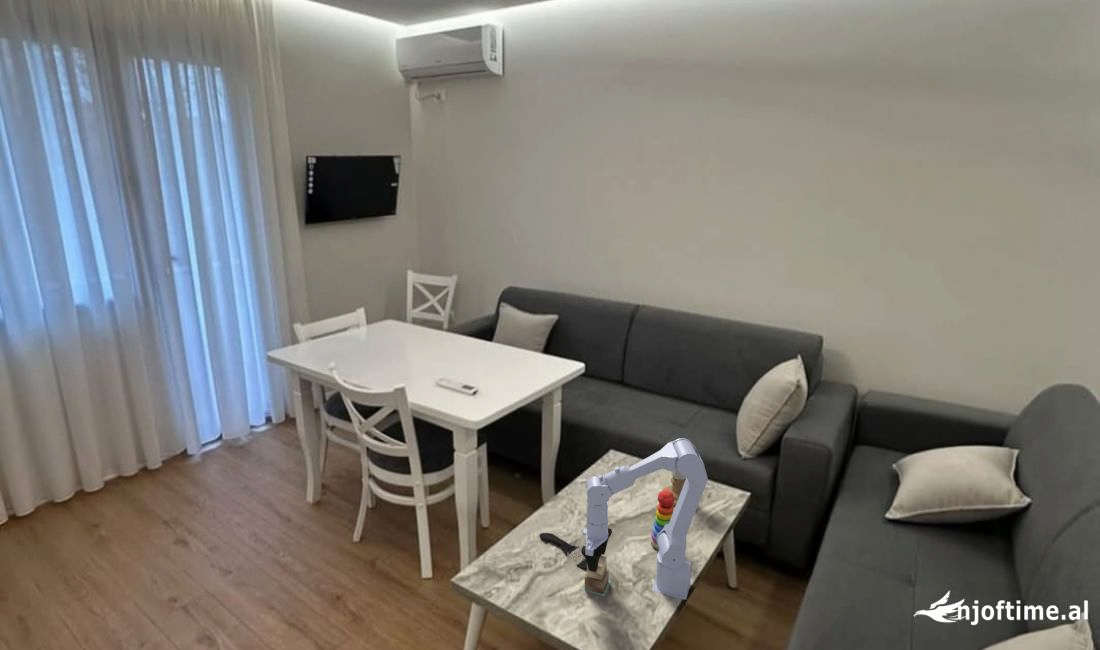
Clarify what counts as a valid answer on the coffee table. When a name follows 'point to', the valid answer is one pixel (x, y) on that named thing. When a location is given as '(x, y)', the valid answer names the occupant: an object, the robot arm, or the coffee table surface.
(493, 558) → the coffee table surface
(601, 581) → the walnut block
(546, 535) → the hairbrush
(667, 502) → the stacking toy
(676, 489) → the candle holder
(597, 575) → the birch block
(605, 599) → the coffee table surface
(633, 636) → the coffee table surface
